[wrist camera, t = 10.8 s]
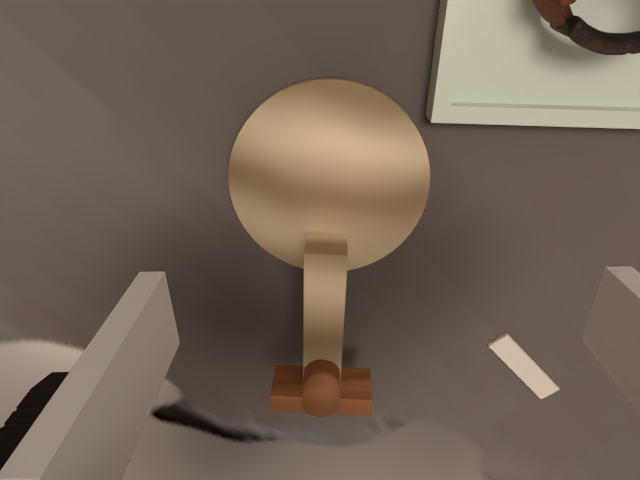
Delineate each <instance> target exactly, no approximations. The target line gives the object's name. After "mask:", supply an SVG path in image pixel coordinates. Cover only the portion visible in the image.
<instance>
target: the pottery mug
mask: <svg viewBox="0 0 640 480" xmlns="http://www.w3.org/2000/svg"><path fill="white" fill-rule="evenodd" d="M533 2H534V4H535V6H536V8H537V10H538V12H539V13H540V14H541V16H542V17H543V18H544V20H545V21H546V22H548V23H550V27H551V28H552V29H553V30H555V31H557V32H559V33H561V34H563V35H565V36H567V37H569V38H570V39H571V40H572V41H573V42H575V43H576V44H578V45H579V46H581V47H583V48H586V49H588V50H590V51H592V52H595V53H599V54H604V55H625V54H627V53H630V54H637V53H640V31H635V32H630V33H608V32H603V31H600V30H597V29H596V28H594V27H592V26H590V25H589V24H587V23H586V22H585V21H584V20H583V19H582V18H581V17H579V16H575V15H573V13H572V10H571V7H570V4H573V3H574V2H576V0H533Z"/></svg>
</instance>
